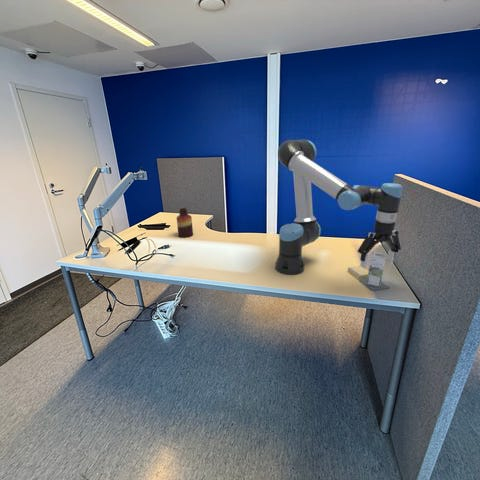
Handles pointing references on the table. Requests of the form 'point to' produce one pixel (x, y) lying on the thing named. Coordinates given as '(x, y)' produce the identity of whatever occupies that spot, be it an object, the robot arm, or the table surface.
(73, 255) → the table surface
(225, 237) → the table surface
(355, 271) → the board
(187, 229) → the brown cylindrical bottle
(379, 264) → the syrup box
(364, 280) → the stub mat
